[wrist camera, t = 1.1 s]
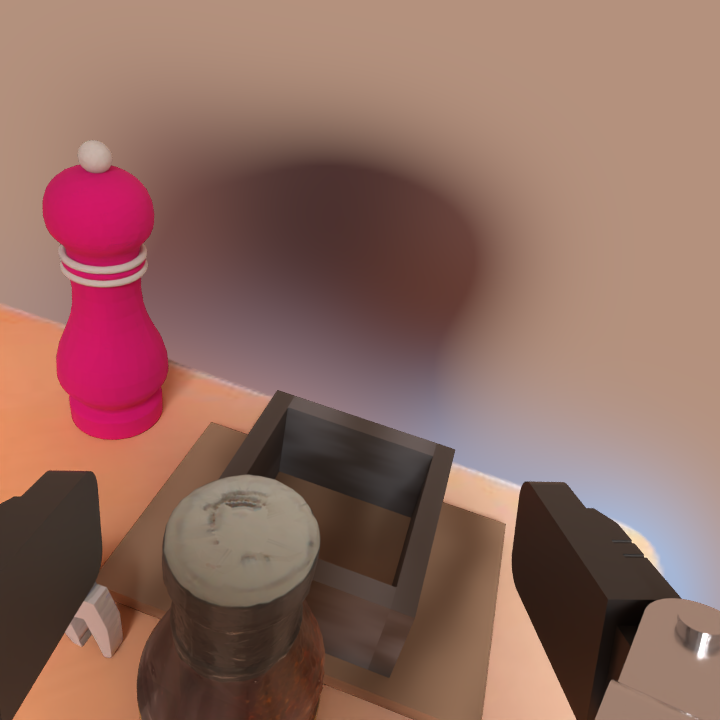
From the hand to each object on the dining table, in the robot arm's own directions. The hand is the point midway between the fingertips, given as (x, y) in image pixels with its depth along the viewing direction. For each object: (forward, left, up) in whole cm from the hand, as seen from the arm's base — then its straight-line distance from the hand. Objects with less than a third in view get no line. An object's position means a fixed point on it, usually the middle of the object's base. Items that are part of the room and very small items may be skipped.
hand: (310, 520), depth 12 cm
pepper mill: (-20, +21, -24) cm, 38 cm away
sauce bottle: (-2, +2, -24) cm, 24 cm away
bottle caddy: (-2, +15, -24) cm, 28 cm away
